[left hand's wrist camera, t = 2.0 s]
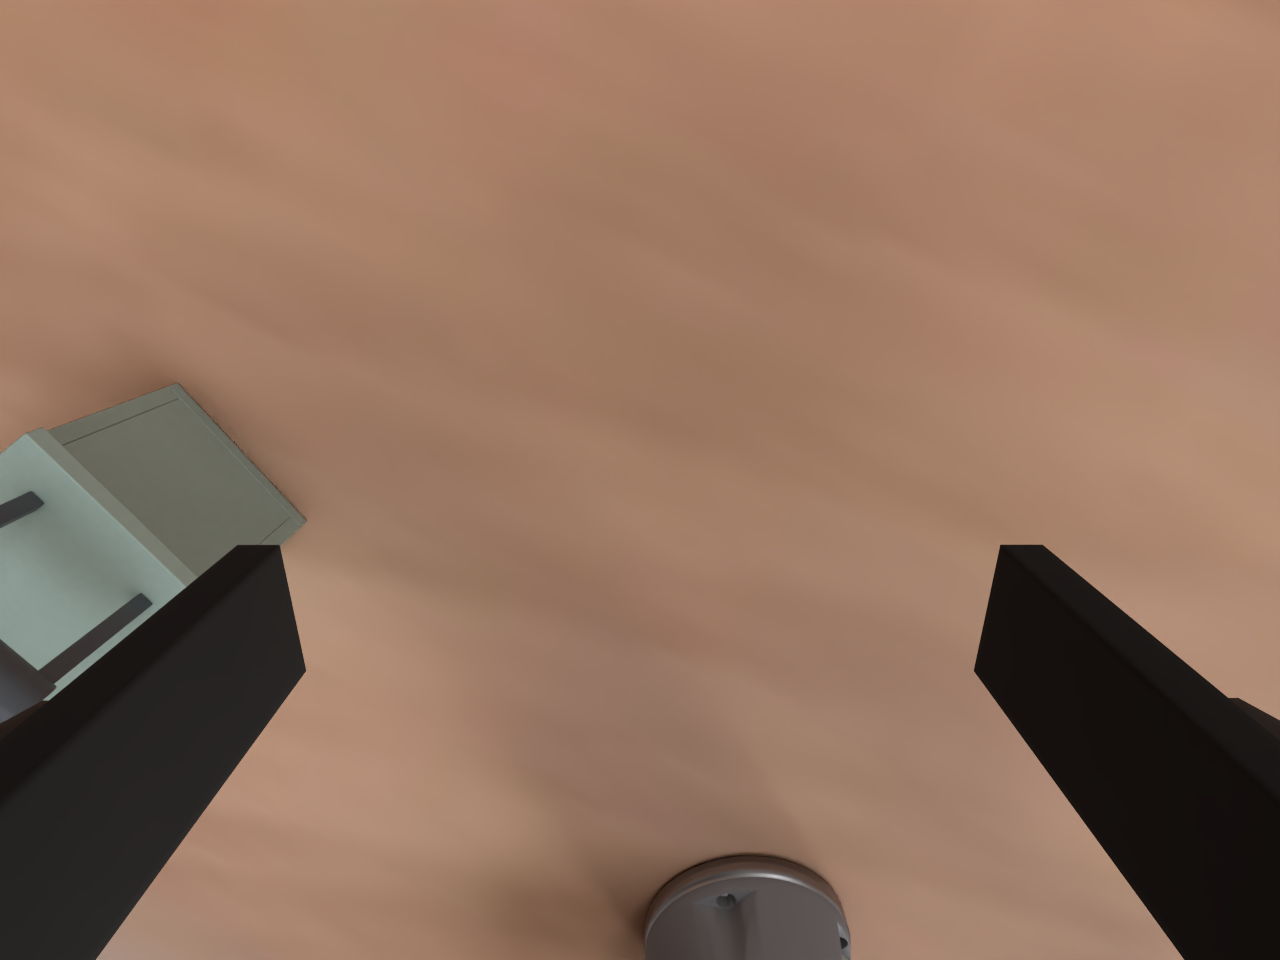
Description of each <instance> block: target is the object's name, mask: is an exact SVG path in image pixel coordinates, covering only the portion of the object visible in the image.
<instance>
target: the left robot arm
mask: <svg viewBox="0 0 1280 960" xmlns="http://www.w3.org/2000/svg"><path fill="white" fill-rule="evenodd" d="M305 672H306V668H305V663H304V659H303V654H302V649H301V644H300V640H299V635H298V630H297V625H296V621H295V616H294V611H293V606H292V602H291V597H290V592H289V587H288V583H287V578H286V573H285V568H284V564H283V559H282V554H281V550H280V545H237V546H235V547H234V548H233V549H232V550H231V551H229V552H228V553H227V554H226V555H225V556H223V557H222V558H221V559H220V560H218V561H217V562H216V563H215V564H214V565H212V566H211V567H210V568H209V569H208V570H206V571H205V572H204V573H203V574H202V575H200V576H199V577H198V578H197V579H195V580H194V581H193V582H192V583H191V584H189V585H188V586H187V587H186V588H185V589H183V590H182V591H181V592H180V593H178V594H177V595H176V596H175V597H174V598H172V599H171V600H170V601H169V602H168V603H166V604H165V605H164V606H163V607H162V608H160V609H159V610H158V611H157V612H155V613H154V614H153V615H152V616H151V617H149V618H148V619H147V620H146V621H145V622H143V623H142V624H141V625H140V626H138V627H137V628H136V629H135V630H134V631H132V632H131V633H130V634H129V635H128V636H126V637H125V638H124V639H123V640H122V641H120V642H119V643H118V644H117V645H115V646H114V647H113V648H112V649H111V650H109V651H108V652H107V653H106V654H105V655H103V656H102V657H101V658H100V659H98V660H97V661H96V662H95V663H94V664H92V665H91V666H90V667H89V668H88V669H86V670H85V671H84V672H83V673H82V674H80V675H79V676H78V677H77V678H75V679H74V680H73V681H72V682H71V683H69V684H68V685H67V686H66V687H65V688H63V689H62V690H61V691H60V692H58V693H57V694H56V695H55V696H54V697H52V698H51V699H50V700H49V701H41V702H39V703H37V704H35V705H33V706H32V707H30V708H28V709H26V710H24V711H22V712H21V713H19V714H17V715H15V716H13V717H11V718H10V719H8V720H6V721H4V722H2V723H0V960H96V958H97V957H98V956H99V954H100V953H101V952H102V950H103V949H104V947H105V946H106V945H107V943H108V942H109V941H110V939H111V938H112V936H113V935H114V934H115V932H116V931H117V930H118V928H119V927H120V925H121V924H122V923H123V921H124V920H125V919H126V917H127V916H128V915H129V913H130V912H131V910H132V909H133V908H134V906H135V905H136V904H137V902H138V901H139V899H140V898H141V897H142V895H143V894H144V893H145V891H146V890H147V888H148V887H149V886H150V884H151V883H152V882H153V880H154V879H155V877H156V876H157V875H158V873H159V872H160V871H161V869H162V868H163V866H164V865H165V864H166V862H167V861H168V860H169V858H170V857H171V856H172V854H173V853H174V851H175V850H176V849H177V847H178V846H179V845H180V843H181V842H182V840H183V839H184V838H185V836H186V835H187V834H188V832H189V831H190V829H191V828H192V827H193V825H194V824H195V823H196V821H197V820H198V818H199V817H200V816H201V814H202V813H203V812H204V810H205V809H206V807H207V806H208V805H209V803H210V802H211V801H212V799H213V798H214V797H215V795H216V794H217V792H218V791H219V790H220V788H221V787H222V786H223V784H224V783H225V781H226V780H227V779H228V777H229V776H230V775H231V773H232V772H233V770H234V769H235V768H236V766H237V765H238V764H239V762H240V761H241V759H242V758H243V757H244V755H245V754H246V753H247V751H248V750H249V748H250V747H251V746H252V744H253V743H254V742H255V740H256V739H257V738H258V736H259V735H260V733H261V732H262V731H263V729H264V728H265V727H266V725H267V724H268V722H269V721H270V720H271V718H272V717H273V716H274V714H275V713H276V711H277V710H278V709H279V707H280V706H281V705H282V703H283V702H284V700H285V699H286V698H287V696H288V695H289V694H290V692H291V691H292V689H293V688H294V687H295V685H296V684H297V683H298V681H299V680H300V679H301V677H302V676H303V674H304V673H305ZM974 672H975V673H976V674H977V676H978V677H979V679H980V680H981V681H982V683H983V684H984V685H985V687H986V688H987V689H988V691H989V692H990V694H991V695H992V696H993V698H994V699H995V700H996V702H997V703H998V705H999V706H1000V707H1001V709H1002V710H1003V711H1004V713H1005V714H1006V716H1007V717H1008V718H1009V720H1010V721H1011V722H1012V724H1013V725H1014V727H1015V728H1016V729H1017V731H1018V732H1019V733H1020V735H1021V736H1022V738H1023V739H1024V740H1025V742H1026V743H1027V744H1028V746H1029V747H1030V748H1031V750H1032V751H1033V753H1034V754H1035V755H1036V757H1037V758H1038V759H1039V761H1040V762H1041V764H1042V765H1043V766H1044V768H1045V769H1046V770H1047V772H1048V773H1049V775H1050V776H1051V777H1052V779H1053V780H1054V781H1055V783H1056V784H1057V786H1058V787H1059V788H1060V790H1061V791H1062V792H1063V794H1064V795H1065V797H1066V798H1067V799H1068V801H1069V802H1070V803H1071V805H1072V806H1073V807H1074V809H1075V810H1076V812H1077V813H1078V814H1079V816H1080V817H1081V818H1082V820H1083V821H1084V823H1085V824H1086V825H1087V827H1088V828H1089V829H1090V831H1091V832H1092V834H1093V835H1094V836H1095V838H1096V839H1097V840H1098V842H1099V843H1100V845H1101V846H1102V847H1103V849H1104V850H1105V851H1106V853H1107V854H1108V856H1109V857H1110V858H1111V860H1112V861H1113V862H1114V864H1115V865H1116V866H1117V868H1118V869H1119V871H1120V872H1121V873H1122V875H1123V876H1124V877H1125V879H1126V880H1127V882H1128V883H1129V884H1130V886H1131V887H1132V888H1133V890H1134V891H1135V893H1136V894H1137V895H1138V897H1139V898H1140V899H1141V901H1142V902H1143V904H1144V905H1145V906H1146V908H1147V909H1148V910H1149V912H1150V913H1151V915H1152V916H1153V917H1154V919H1155V920H1156V921H1157V923H1158V924H1159V925H1160V927H1161V928H1162V930H1163V931H1164V932H1165V934H1166V935H1167V936H1168V938H1169V939H1170V941H1171V942H1172V943H1173V945H1174V946H1175V947H1176V949H1177V950H1178V952H1179V953H1180V954H1181V956H1182V957H1183V958H1184V960H1280V720H1278V719H1276V718H1274V717H1272V716H1270V715H1269V714H1267V713H1265V712H1263V711H1261V710H1259V709H1258V708H1256V707H1254V706H1252V705H1250V704H1248V703H1247V702H1245V701H1243V700H1241V699H1239V698H1228V697H1226V696H1225V695H1224V694H1223V693H1221V692H1220V691H1219V690H1218V689H1217V688H1215V687H1214V686H1213V685H1212V684H1211V683H1209V682H1208V681H1207V680H1206V679H1205V678H1203V677H1202V676H1201V675H1200V674H1198V673H1197V672H1196V671H1195V670H1194V669H1192V668H1191V667H1190V666H1189V665H1188V664H1186V663H1185V662H1184V661H1183V660H1182V659H1180V658H1179V657H1178V656H1177V655H1175V654H1174V653H1173V652H1172V651H1171V650H1169V649H1168V648H1167V647H1166V646H1165V645H1163V644H1162V643H1161V642H1160V641H1158V640H1157V639H1156V638H1155V637H1154V636H1152V635H1151V634H1150V633H1149V632H1148V631H1146V630H1145V629H1144V628H1143V627H1142V626H1140V625H1139V624H1138V623H1137V622H1135V621H1134V620H1133V619H1132V618H1131V617H1129V616H1128V615H1127V614H1126V613H1125V612H1123V611H1122V610H1121V609H1120V608H1118V607H1117V606H1116V605H1115V604H1114V603H1112V602H1111V601H1110V600H1109V599H1108V598H1106V597H1105V596H1104V595H1103V594H1102V593H1100V592H1099V591H1098V590H1097V589H1095V588H1094V587H1093V586H1092V585H1091V584H1089V583H1088V582H1087V581H1086V580H1085V579H1083V578H1082V577H1081V576H1080V575H1078V574H1077V573H1076V572H1075V571H1074V570H1072V569H1071V568H1070V567H1069V566H1068V565H1066V564H1065V563H1064V562H1063V561H1062V560H1060V559H1059V558H1058V557H1057V556H1055V555H1054V554H1053V553H1052V552H1051V551H1049V550H1048V549H1047V548H1046V547H1045V546H1043V545H1000V550H999V554H998V559H997V564H996V568H995V573H994V578H993V583H992V587H991V592H990V597H989V602H988V606H987V611H986V616H985V621H984V625H983V630H982V635H981V640H980V644H979V649H978V654H977V659H976V663H975V668H974ZM644 951H645V960H850V951H851V948H850V934H849V929H848V925H847V922H846V919H845V915H844V912H843V908H842V906H841V903H840V901H839V899H838V897H837V895H836V894H835V892H834V891H833V889H832V888H831V887H830V886H829V885H828V884H827V883H826V882H825V881H824V880H823V879H822V878H820V877H819V876H817V875H816V874H815V873H813V872H811V871H810V870H808V869H806V868H804V867H802V866H799V865H797V864H794V863H791V862H788V861H784V860H781V859H776V858H770V857H761V856H739V857H729V858H724V859H718V860H715V861H711V862H707V863H705V864H702V865H699V866H697V867H694V868H692V869H690V870H688V871H686V872H684V873H682V874H681V875H679V876H678V877H676V878H675V879H673V880H672V881H671V882H669V883H668V884H667V885H666V886H665V887H664V888H663V889H662V890H661V891H660V892H659V893H658V895H657V896H656V897H655V899H654V900H653V902H652V903H651V905H650V907H649V910H648V912H647V915H646V919H645V927H644Z"/></svg>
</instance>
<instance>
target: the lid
mask: <svg viewBox="0 0 1280 960" xmlns="http://www.w3.org/2000/svg"><path fill="white" fill-rule="evenodd" d="M197 578H198V577H197V576H196V575H195V574H194V573H193V572H192V571H191V570H190V569H189V568H188V567H187V566H186V565H185V564H184V563H183V562H182V561H181V560H180V559H179V558H178V557H177V556H176V555H175V554H174V553H173V552H172V551H171V550H170V549H169V548H168V547H167V546H165V545H164V544H163V543H162V542H161V541H160V540H159V539H158V538H157V537H156V536H155V535H154V534H153V533H152V532H151V531H150V530H149V529H148V528H147V527H146V526H145V525H144V524H143V523H142V522H141V521H140V520H139V519H138V518H137V517H136V516H135V515H134V514H132V513H131V512H130V511H129V510H128V509H127V508H126V507H125V506H124V505H123V504H122V503H121V502H120V501H119V500H118V499H117V498H116V497H115V496H114V495H113V494H112V493H111V492H110V491H109V490H108V489H107V488H106V487H105V486H104V485H103V484H102V483H101V482H99V481H98V480H97V479H96V478H95V477H94V476H93V475H92V474H91V473H90V472H89V471H88V470H87V469H86V468H85V467H84V466H83V465H82V464H81V463H80V462H79V461H78V460H77V459H76V458H75V457H74V456H73V455H72V454H71V453H70V452H69V451H68V450H66V449H65V448H64V447H63V446H62V445H61V444H60V443H59V442H58V441H57V440H56V439H55V438H54V437H53V436H52V435H51V434H50V433H49V432H48V431H47V430H46V429H45V428H43V427H42V428H39V429H36V430H33V431H30V432H27V433H25V434H23V435H22V436H21V437H20V438H19V439H17V440H16V441H15V442H14V443H13V444H11V445H10V446H9V447H8V448H6V449H5V450H4V451H3V452H2V453H0V723H2V722H4V721H6V720H8V719H10V718H11V717H13V716H15V715H17V714H19V713H21V712H22V711H24V710H26V709H28V708H30V707H32V706H33V705H35V704H37V703H39V702H41V701H49V700H50V699H51V698H52V697H54V696H55V695H56V694H57V693H58V692H60V691H61V690H62V689H63V688H65V687H66V686H67V685H68V684H69V683H71V682H72V681H73V680H74V679H75V678H77V677H78V676H79V675H80V674H82V673H83V672H84V671H85V670H86V669H88V668H89V667H90V666H91V665H92V664H94V663H95V662H96V661H97V660H98V659H100V658H101V657H102V656H103V655H105V654H106V653H107V652H108V651H109V650H111V649H112V648H113V647H114V646H115V645H117V644H118V643H119V642H120V641H122V640H123V639H124V638H125V637H126V636H128V635H129V634H130V633H131V632H132V631H134V630H135V629H136V628H137V627H138V626H140V625H141V624H142V623H143V622H145V621H146V620H147V619H148V618H149V617H151V616H152V615H153V614H154V613H155V612H157V611H158V610H159V609H160V608H162V607H163V606H164V605H165V604H166V603H168V602H169V601H170V600H171V599H172V598H174V597H175V596H176V595H177V594H178V593H180V592H181V591H182V590H183V589H185V588H186V587H187V586H188V585H189V584H191V583H192V582H193V581H194V580H195V579H197Z"/></svg>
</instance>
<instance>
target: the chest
mask: <svg viewBox="0 0 1280 960" xmlns="http://www.w3.org/2000/svg"><path fill="white" fill-rule="evenodd" d="M48 432H49V433H50V434H51V435H52V436H53V437H54V438H55V439H56V440H57V441H58V442H59V443H60V444H61V445H62V446H63V447H64V448H65V449H66V450H68V451H69V452H70V453H71V454H72V455H73V456H74V457H75V458H76V459H77V460H78V461H79V462H80V463H81V464H82V465H83V466H84V467H85V468H86V469H87V470H88V471H89V472H90V473H91V474H92V475H93V476H94V477H95V478H96V479H97V480H98V481H99V482H101V483H102V484H103V485H104V486H105V487H106V488H107V489H108V490H109V491H110V492H111V493H112V494H113V495H114V496H115V497H116V498H117V499H118V500H119V501H120V502H121V503H122V504H123V505H124V506H125V507H126V508H127V509H128V510H129V511H130V512H131V513H132V514H134V515H135V516H136V517H137V518H138V519H139V520H140V521H141V522H142V523H143V524H144V525H145V526H146V527H147V528H148V529H149V530H150V531H151V532H152V533H153V534H154V535H155V536H156V537H157V538H158V539H159V540H160V541H161V542H162V543H163V544H164V545H165V546H167V547H168V548H169V549H170V550H171V551H172V552H173V553H174V554H175V555H176V556H177V557H178V558H179V559H180V560H181V561H182V562H183V563H184V564H185V565H186V566H187V567H188V568H189V569H190V570H191V571H192V572H193V573H194V574H195V575H196V576H197V577H199V576H200V575H202V574H203V573H204V572H205V571H206V570H208V569H209V568H210V567H211V566H212V565H214V564H215V563H216V562H217V561H218V560H220V559H221V558H222V557H223V556H225V555H226V554H227V553H228V552H229V551H231V550H232V549H233V548H234V547H235V546H237V545H280V546H281V545H282V544H283V543H284V542H285V541H286V540H288V539H289V538H290V537H291V536H292V535H293V534H294V533H295V532H296V531H297V530H298V529H299V528H300V527H302V526H303V525H304V524H305V523H306V520H305V519H304V518H303V517H302V515H301V514H300V513H299V512H298V511H297V510H296V509H295V508H294V507H293V506H292V505H291V504H290V503H289V502H288V501H287V499H286V498H285V497H284V496H283V495H282V494H281V493H280V492H279V491H278V490H277V489H276V488H275V487H274V486H273V484H272V483H271V482H270V481H269V480H268V479H267V478H266V477H265V476H264V475H263V474H262V473H261V472H260V471H259V469H258V468H257V467H256V466H255V465H254V464H253V463H252V462H251V461H250V460H249V459H248V458H247V457H246V456H245V455H244V453H243V452H242V451H241V450H240V449H239V448H238V447H237V446H236V445H235V444H234V443H233V442H232V441H231V440H230V438H229V437H228V436H227V435H226V434H225V433H224V432H223V431H222V430H221V429H220V428H219V427H218V426H217V425H216V424H215V422H214V421H213V420H212V419H211V418H210V417H209V416H208V415H207V414H206V413H205V412H204V411H203V410H202V409H201V407H200V406H199V405H198V404H197V403H196V402H195V401H194V400H193V399H192V398H191V397H190V396H189V395H188V394H187V392H186V391H185V390H184V389H183V388H182V387H181V386H180V385H179V384H178V383H175V384H173V385H170V386H168V387H164V388H162V389H159V390H156V391H154V392H151V393H148V394H145V395H143V396H140V397H137V398H135V399H132V400H129V401H126V402H124V403H121V404H118V405H116V406H113V407H110V408H107V409H105V410H102V411H99V412H97V413H94V414H91V415H88V416H86V417H83V418H80V419H78V420H75V421H72V422H69V423H67V424H64V425H61V426H59V427H56V428H53V429H50V430H48Z"/></svg>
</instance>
